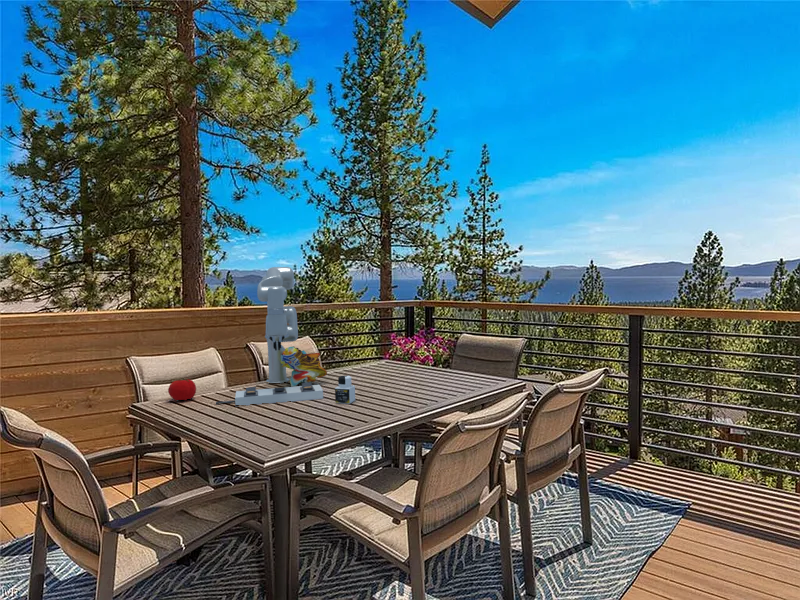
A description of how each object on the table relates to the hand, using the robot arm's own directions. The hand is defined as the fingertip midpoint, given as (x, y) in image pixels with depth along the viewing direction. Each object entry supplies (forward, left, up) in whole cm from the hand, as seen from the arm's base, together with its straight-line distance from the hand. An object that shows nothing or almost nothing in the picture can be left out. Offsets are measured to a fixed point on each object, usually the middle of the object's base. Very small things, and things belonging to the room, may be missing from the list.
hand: (277, 349), depth 254 cm
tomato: (-11, -45, -23) cm, 52 cm away
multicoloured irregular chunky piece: (-25, +14, -23) cm, 37 cm away
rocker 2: (+8, +13, -18) cm, 23 cm away
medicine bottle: (+22, +29, -23) cm, 43 cm away
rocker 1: (+8, -13, -18) cm, 23 cm away
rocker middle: (+8, 0, -18) cm, 19 cm away
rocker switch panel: (+5, -5, -23) cm, 24 cm away
